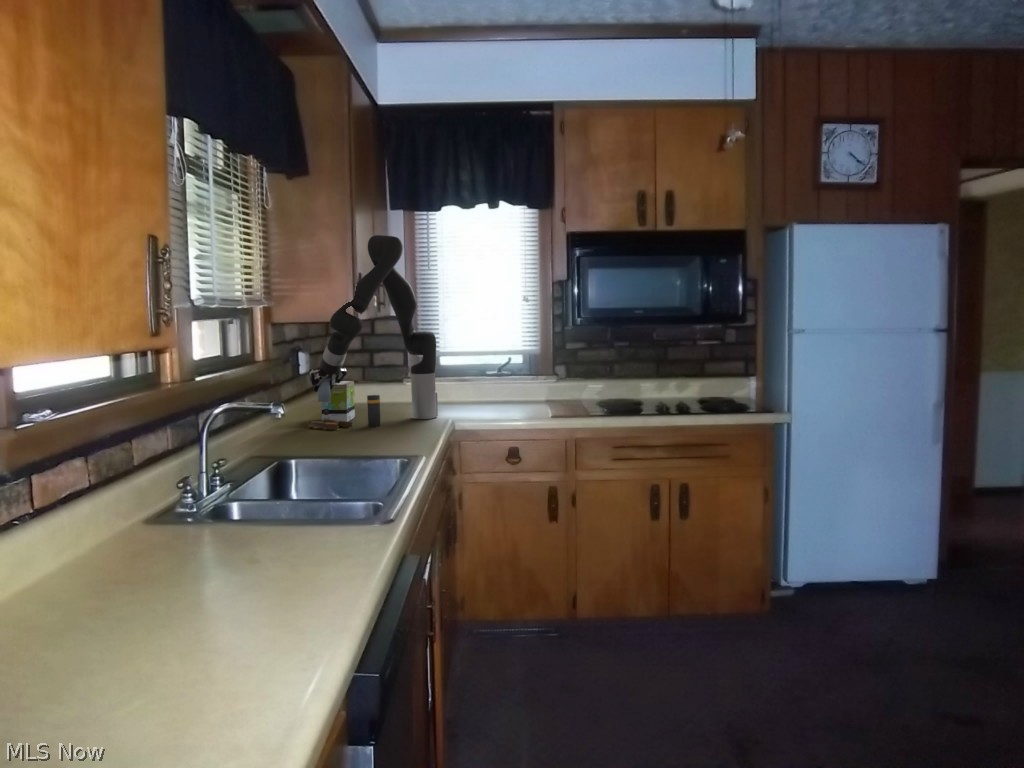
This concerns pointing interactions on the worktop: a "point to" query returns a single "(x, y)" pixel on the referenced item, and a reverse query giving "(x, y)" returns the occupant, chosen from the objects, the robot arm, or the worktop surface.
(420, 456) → the worktop surface
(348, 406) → the tea box
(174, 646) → the worktop surface
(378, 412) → the dark grey cylinder
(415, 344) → the robot arm
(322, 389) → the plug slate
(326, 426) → the rack
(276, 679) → the worktop surface
